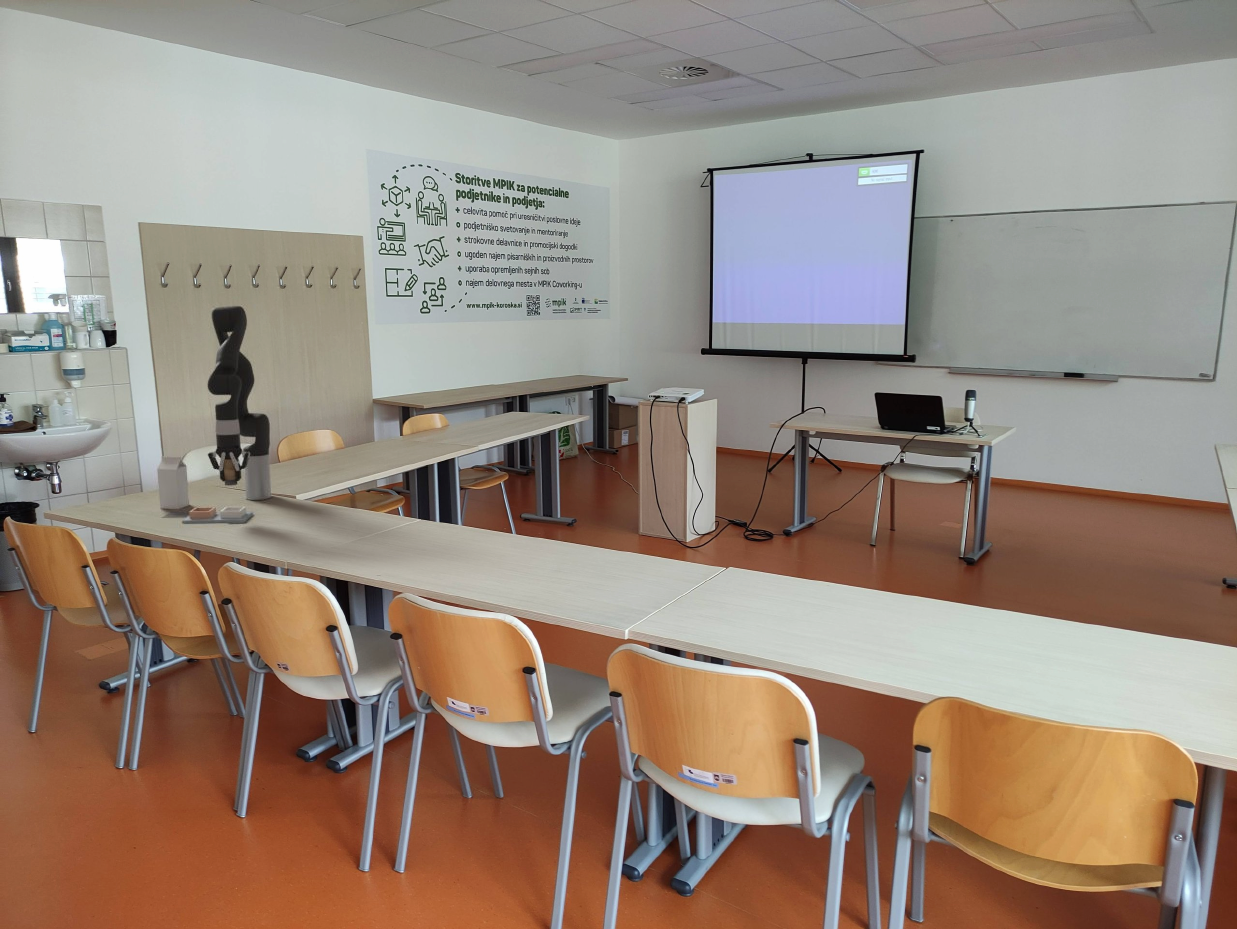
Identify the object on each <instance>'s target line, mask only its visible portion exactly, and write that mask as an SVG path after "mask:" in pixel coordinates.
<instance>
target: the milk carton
mask: <svg viewBox="0 0 1237 929" xmlns="http://www.w3.org/2000/svg"><path fill="white" fill-rule="evenodd" d="M156 472H157V481H158V482H157V483H158V495H159V497H158V498H159V508H160V509H161V510H162V509H163V510H165V509H166V510H167V509H169V510H179V509H180V510H181V509H183V508H184V507H185V508H186V507H187V506H189V505H190V496H189V485H188V484H189V483H188V482H189V481H188V466H187V464H185V462H184V461H183V460H182V457H181V456H161V460H160V462H159V465H158V466H157V469H156Z"/></svg>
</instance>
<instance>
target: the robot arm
mask: <svg viewBox="0 0 1237 929" xmlns="http://www.w3.org/2000/svg"><path fill="white" fill-rule="evenodd" d="M211 320H212V324H213V327H214V328H213V329H214V331H215V335H216V338H217V341H218V344H219V348H218V350H217V353H216V358H215V366H214V368H213V370H212V372H211V374H210V376H209V378H208V380H207V389H208V392H209V393H211V394H212V395H214V396H230V397H229V399H227V400H225V401H221V402H220V401H219V402H217V403H216V404H215V405H214V409H215V410H214V412H215V437H216V438H215V439H216V440H215V441H216V449H215V451H210V452H209V453H207V456H208V459H209V461H210V464H211V465H212V468H213V469H214V470H218V471H219V479H220V480H221V481H222V482H225V479H224V460H227V459H232V462H233V464H234V466H235V469H236V471H235V474H236V481H237V482H239V481H241V480H242V470H243V473H244V486H245V488H244V489H245V491H244V492H245V499H246V500H250V501H261V500H268V499H271V498H272V485H271V483H272V481H271V465H270V445H271V438H270V436H271V435H270V434H271V432H270V430H271V429H270V428H271V427H270V418H269V416H268V415H267V414H265V413H261V412H260V413H257V412H255V413H254V412H249V408H248V399H249V396H250V395H251V392H252V389H253V387H254V384H255V375H254V370H253V366H252V364H251V362H250V360H249V359H248V358H247V357H246V356H245V354H243V353H242V352H241V347H242V344H243V341H244V338H245V333H246V331H247V326H248V320H247V314H246V311H245V309H244V307H242V306H239V305H231V306H216V307H214V308H212V311H211ZM229 333H230V335H229ZM241 437H244V438H254V443H252V444H250V445H247V446H245V447H243V448H242V447H241ZM217 456H218V457H219V463H218V460H217V458H216V457H217ZM240 456H242V458H243V459H242V463H240V459H239V458H240Z"/></svg>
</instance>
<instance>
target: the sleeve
mask: <svg viewBox="0 0 1237 929" xmlns="http://www.w3.org/2000/svg"><path fill="white" fill-rule="evenodd" d="M235 471H236V469H235V466H234V464H233V462H232V459H227V460H224V479H225V481H224V486H236V485H238V481H236V474H235Z"/></svg>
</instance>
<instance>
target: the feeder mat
mask: <svg viewBox="0 0 1237 929" xmlns="http://www.w3.org/2000/svg"><path fill="white" fill-rule="evenodd" d="M190 511H191V510H188V511H187V510H186V511H185V510H184V511H183V510H181V511H170V512H168V513H167V514H165V515H163V516H162V517H161V518H162V519H164V518H165V519H166V518H167V519H169V518H171V519H172V518H176V519H177V518H186V517H188V516H189V512H190Z"/></svg>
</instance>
